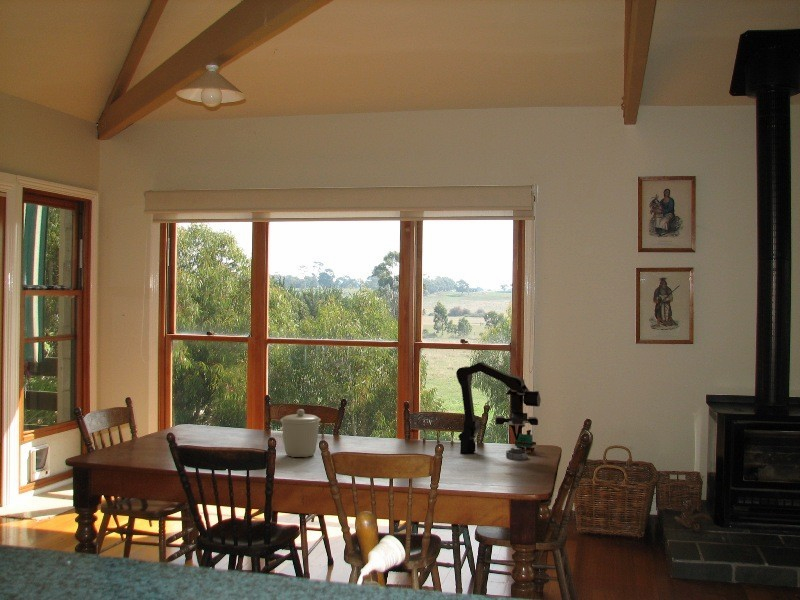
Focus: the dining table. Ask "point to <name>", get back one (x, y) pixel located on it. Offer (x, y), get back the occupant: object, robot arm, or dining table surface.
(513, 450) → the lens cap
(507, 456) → the barrel ring
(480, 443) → the dining table surface
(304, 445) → the canister
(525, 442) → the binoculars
